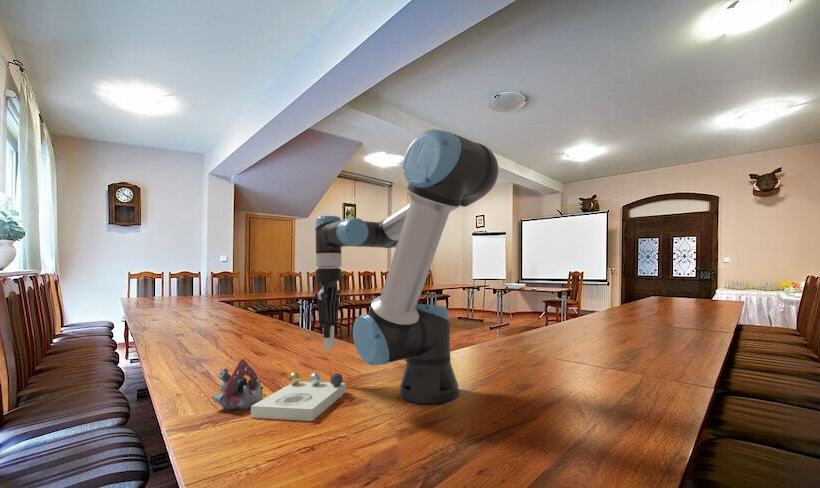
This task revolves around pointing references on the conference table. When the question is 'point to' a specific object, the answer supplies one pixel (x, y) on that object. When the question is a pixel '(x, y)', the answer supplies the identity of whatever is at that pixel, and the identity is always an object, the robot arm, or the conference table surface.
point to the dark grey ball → (336, 379)
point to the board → (298, 401)
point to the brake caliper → (239, 388)
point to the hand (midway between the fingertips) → (328, 348)
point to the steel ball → (315, 378)
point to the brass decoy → (294, 378)
